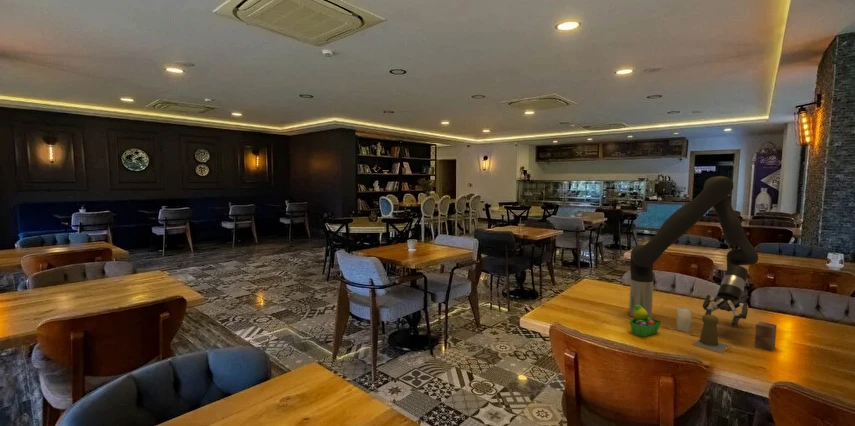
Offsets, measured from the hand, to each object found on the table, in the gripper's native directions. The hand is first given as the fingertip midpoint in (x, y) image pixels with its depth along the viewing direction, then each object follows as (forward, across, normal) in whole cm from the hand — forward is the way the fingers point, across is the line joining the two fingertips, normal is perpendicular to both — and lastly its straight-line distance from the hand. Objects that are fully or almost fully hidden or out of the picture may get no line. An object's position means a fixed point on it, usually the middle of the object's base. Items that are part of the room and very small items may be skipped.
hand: (719, 322), depth 157 cm
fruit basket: (+16, -22, -5) cm, 28 cm away
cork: (+10, -2, +1) cm, 10 cm away
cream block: (+5, -13, +6) cm, 15 cm away
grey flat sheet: (+11, 0, 0) cm, 11 cm away
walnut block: (+1, +13, +9) cm, 16 cm away
